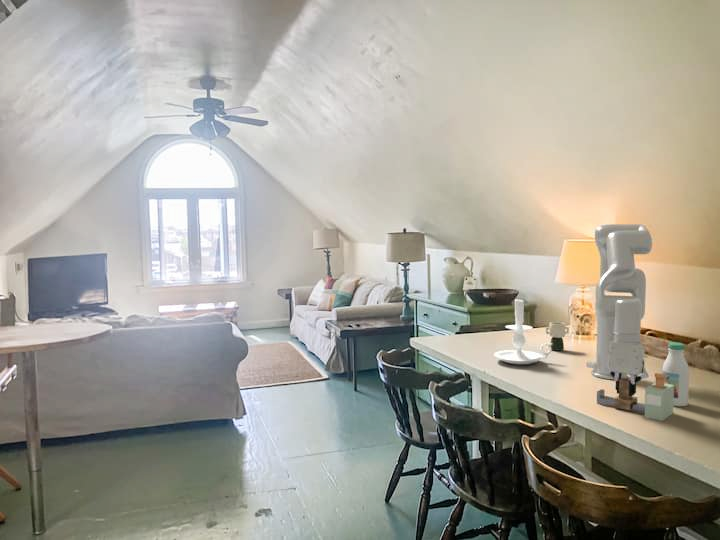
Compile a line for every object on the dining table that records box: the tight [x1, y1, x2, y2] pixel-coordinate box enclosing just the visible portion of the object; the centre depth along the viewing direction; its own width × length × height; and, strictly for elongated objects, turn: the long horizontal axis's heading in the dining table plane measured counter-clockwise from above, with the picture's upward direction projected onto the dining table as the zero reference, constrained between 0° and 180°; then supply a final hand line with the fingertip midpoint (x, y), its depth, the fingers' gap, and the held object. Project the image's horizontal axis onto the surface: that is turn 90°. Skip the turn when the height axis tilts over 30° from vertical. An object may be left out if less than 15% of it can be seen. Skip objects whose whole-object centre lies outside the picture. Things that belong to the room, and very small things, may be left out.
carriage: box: [613, 377, 638, 411], centre depth 177 cm, size 5×6×9 cm
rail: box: [596, 389, 645, 415], centre depth 178 cm, size 16×4×4 cm, turn 44°
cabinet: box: [644, 382, 674, 422], centre depth 170 cm, size 5×10×9 cm, turn 134°
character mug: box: [545, 321, 570, 351], centre depth 262 cm, size 11×7×13 cm, turn 90°
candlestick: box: [493, 298, 553, 365], centre depth 238 cm, size 21×25×28 cm
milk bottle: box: [661, 342, 690, 407], centre depth 181 cm, size 8×8×20 cm
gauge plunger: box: [654, 372, 666, 389], centre depth 170 cm, size 3×3×7 cm
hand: (625, 393), depth 177 cm, fingers closed on carriage, 3 cm apart
